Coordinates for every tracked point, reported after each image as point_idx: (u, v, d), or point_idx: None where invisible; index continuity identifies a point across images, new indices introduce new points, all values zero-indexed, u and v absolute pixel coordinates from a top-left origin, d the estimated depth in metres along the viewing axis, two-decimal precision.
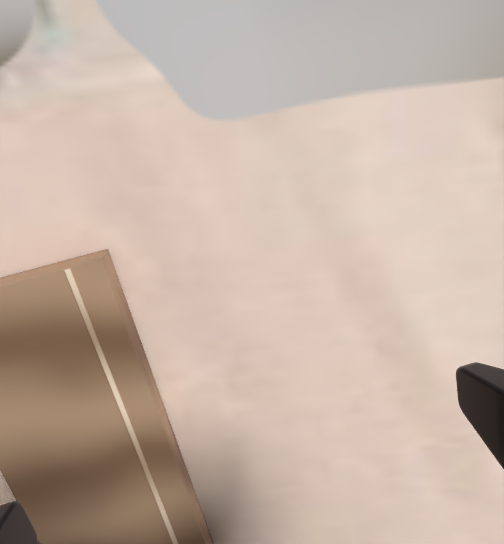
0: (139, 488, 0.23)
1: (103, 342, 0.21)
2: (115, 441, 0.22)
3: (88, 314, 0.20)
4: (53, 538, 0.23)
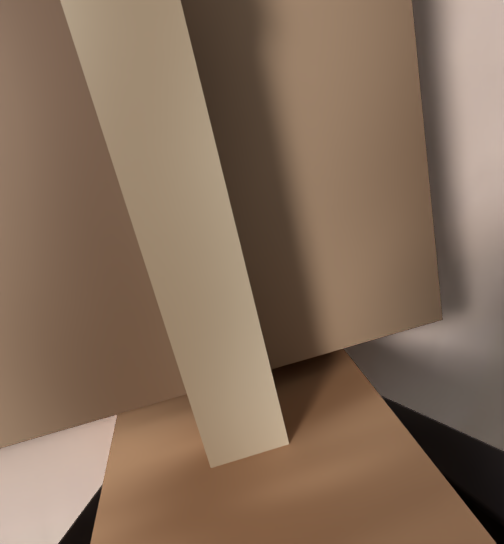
0: None
1: None
2: None
3: None
4: None
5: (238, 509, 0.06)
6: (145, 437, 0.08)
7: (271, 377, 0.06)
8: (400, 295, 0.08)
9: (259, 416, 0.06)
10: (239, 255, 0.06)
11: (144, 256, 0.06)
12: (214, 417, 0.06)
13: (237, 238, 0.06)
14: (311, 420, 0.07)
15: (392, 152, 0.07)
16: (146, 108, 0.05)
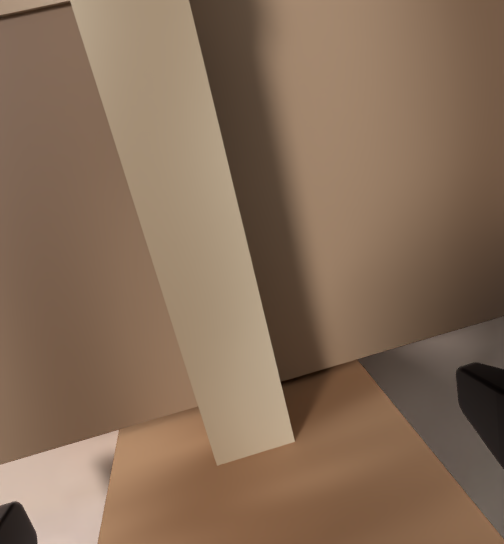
0: None
1: None
2: None
3: None
4: None
5: (245, 506, 0.06)
6: (150, 436, 0.08)
7: (277, 375, 0.06)
8: None
9: (265, 414, 0.06)
10: (246, 253, 0.06)
11: (152, 254, 0.06)
12: (220, 414, 0.06)
13: (244, 236, 0.06)
14: (316, 418, 0.07)
15: None
16: (155, 106, 0.05)
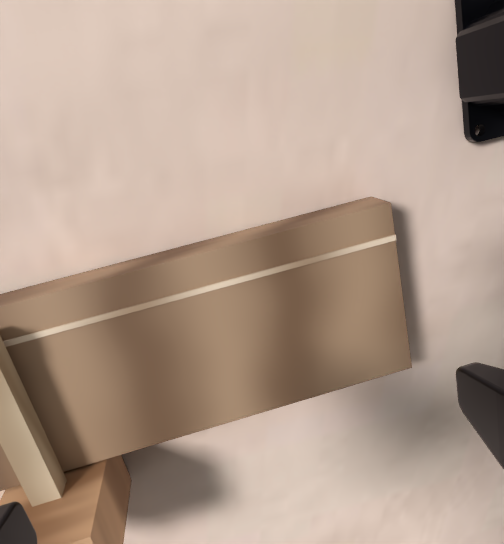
0: (176, 313, 0.18)
1: None
2: (102, 338, 0.18)
3: None
4: (238, 404, 0.20)
5: (33, 522, 0.18)
6: (16, 492, 0.19)
7: (50, 475, 0.18)
8: (395, 359, 0.21)
9: (48, 488, 0.18)
10: (32, 439, 0.17)
11: (0, 441, 0.17)
12: (30, 489, 0.18)
13: (31, 434, 0.17)
14: (74, 487, 0.19)
15: (392, 310, 0.20)
16: None
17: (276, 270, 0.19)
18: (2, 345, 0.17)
